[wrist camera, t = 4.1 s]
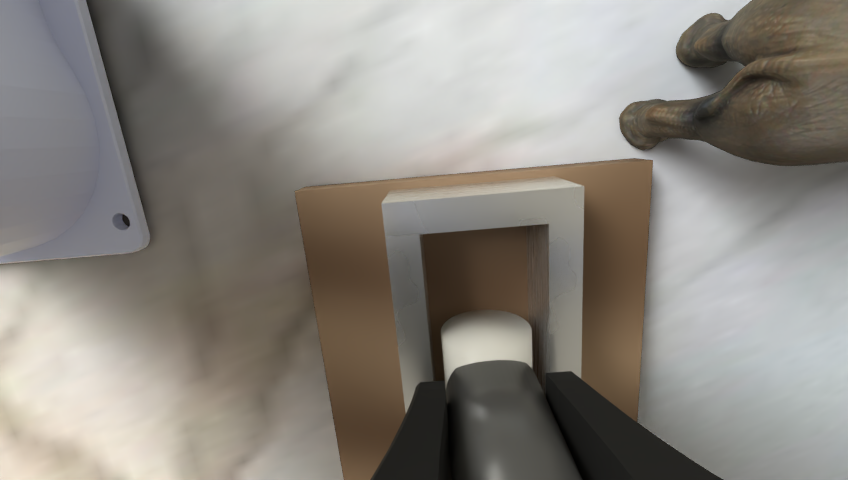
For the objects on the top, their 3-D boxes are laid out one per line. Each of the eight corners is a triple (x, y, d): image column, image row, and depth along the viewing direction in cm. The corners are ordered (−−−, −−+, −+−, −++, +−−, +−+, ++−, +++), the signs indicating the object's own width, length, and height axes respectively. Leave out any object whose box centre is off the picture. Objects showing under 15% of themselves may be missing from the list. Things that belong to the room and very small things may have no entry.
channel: (389, 190, 11) (381, 203, 9) (553, 176, 11) (584, 186, 9) (418, 448, 13) (416, 507, 11) (554, 439, 13) (579, 497, 11)
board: (304, 186, 12) (294, 191, 11) (634, 158, 12) (652, 160, 11) (373, 602, 17) (369, 630, 16) (613, 589, 16) (625, 617, 15)
